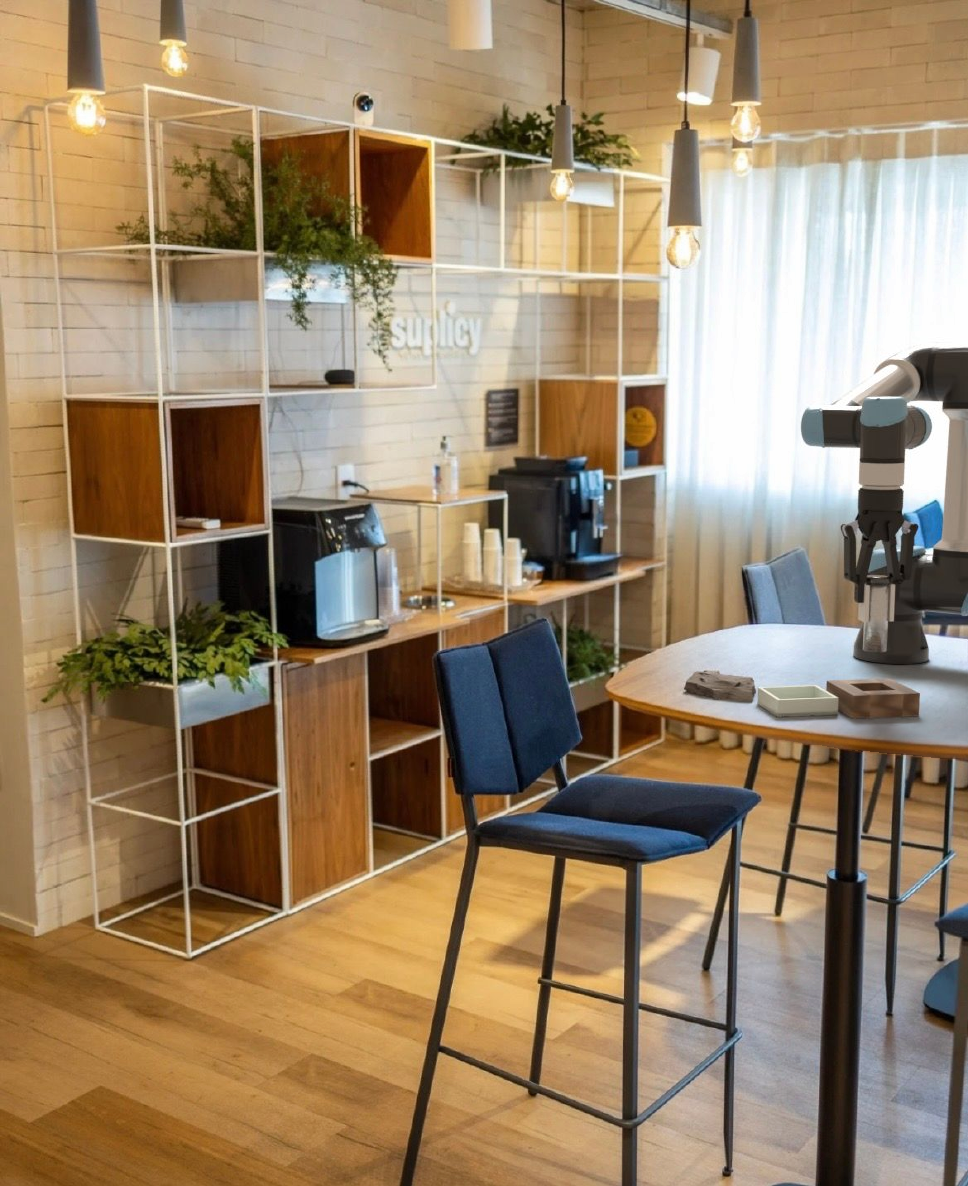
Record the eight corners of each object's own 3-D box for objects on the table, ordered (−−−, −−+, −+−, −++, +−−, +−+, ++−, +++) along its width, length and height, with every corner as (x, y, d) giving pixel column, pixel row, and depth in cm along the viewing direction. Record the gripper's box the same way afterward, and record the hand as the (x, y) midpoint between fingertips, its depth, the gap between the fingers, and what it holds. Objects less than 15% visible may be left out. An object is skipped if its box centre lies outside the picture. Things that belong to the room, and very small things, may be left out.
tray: (815, 701, 249) (816, 685, 248) (837, 714, 239) (838, 697, 238) (757, 703, 247) (757, 687, 247) (777, 717, 237) (777, 700, 237)
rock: (678, 696, 254) (679, 675, 253) (694, 687, 262) (695, 666, 261) (750, 704, 248) (751, 683, 247) (764, 694, 256) (765, 673, 255)
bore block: (888, 699, 250) (889, 678, 249) (918, 715, 238) (920, 693, 237) (825, 702, 248) (826, 680, 247) (853, 718, 236) (854, 695, 235)
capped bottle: (881, 647, 244) (884, 574, 242) (892, 652, 240) (895, 578, 237) (857, 648, 243) (860, 575, 241) (868, 653, 239) (870, 579, 237)
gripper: (917, 484, 242) (911, 614, 245) (825, 486, 239) (821, 618, 243) (937, 487, 234) (931, 622, 238) (842, 490, 232) (838, 626, 236)
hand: (875, 620), depth 241 cm, fingers closed on capped bottle, 4 cm apart
